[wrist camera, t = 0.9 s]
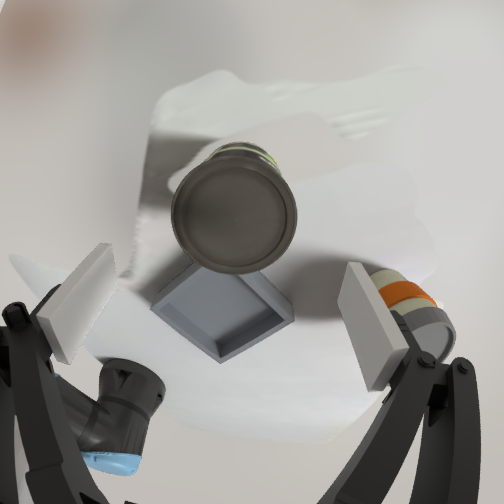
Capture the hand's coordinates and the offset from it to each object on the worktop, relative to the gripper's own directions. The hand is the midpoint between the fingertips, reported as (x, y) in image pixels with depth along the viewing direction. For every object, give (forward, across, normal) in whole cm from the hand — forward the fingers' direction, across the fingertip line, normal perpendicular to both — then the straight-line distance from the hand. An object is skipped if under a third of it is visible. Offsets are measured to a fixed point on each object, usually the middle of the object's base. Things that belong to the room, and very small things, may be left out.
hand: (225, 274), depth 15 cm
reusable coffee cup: (+23, +24, -16) cm, 36 cm away
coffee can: (+23, 0, 0) cm, 23 cm away
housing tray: (+22, -2, -19) cm, 29 cm away
